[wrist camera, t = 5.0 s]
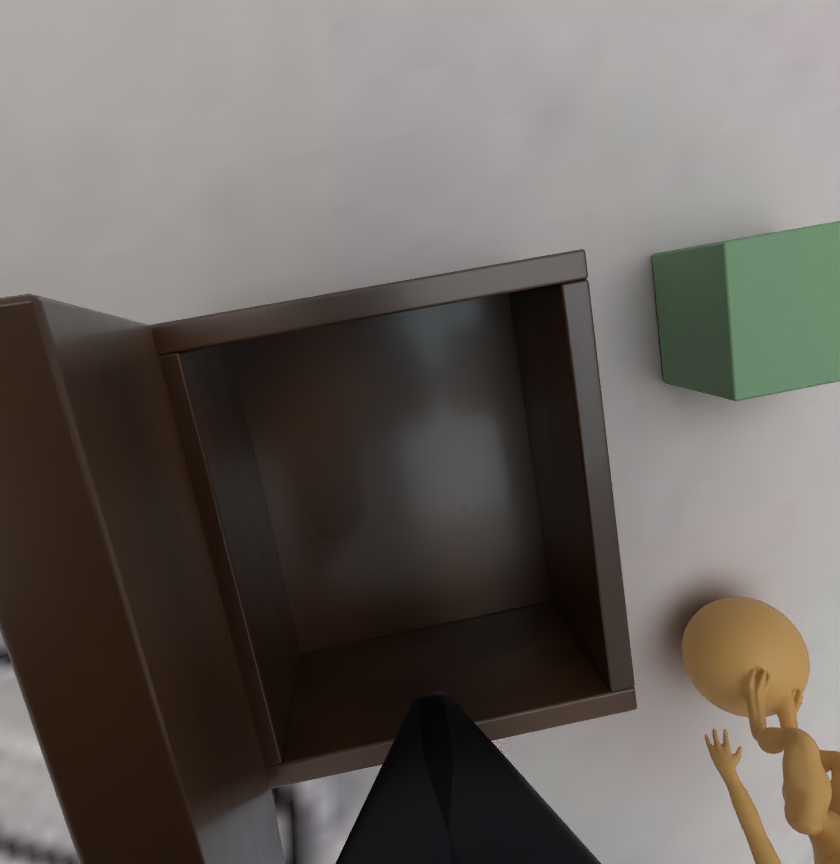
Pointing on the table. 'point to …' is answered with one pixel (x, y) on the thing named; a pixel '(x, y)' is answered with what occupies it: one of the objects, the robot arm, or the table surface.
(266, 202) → the table surface
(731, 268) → the block
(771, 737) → the figurine
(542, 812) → the robot arm
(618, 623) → the box
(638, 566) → the table surface
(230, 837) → the lid
